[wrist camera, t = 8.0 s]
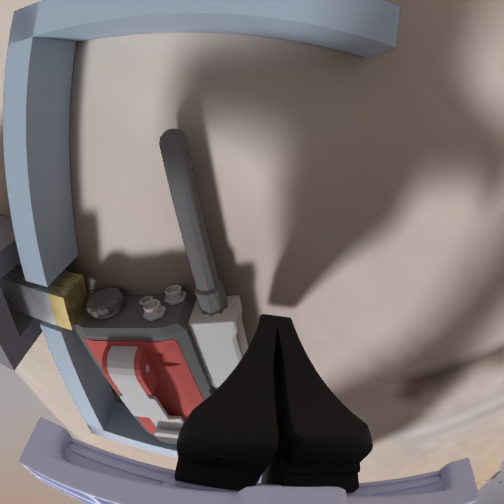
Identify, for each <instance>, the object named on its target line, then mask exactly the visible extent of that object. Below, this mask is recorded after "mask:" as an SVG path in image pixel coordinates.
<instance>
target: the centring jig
mask: <svg viewBox="0 0 504 504" xmlns="http://www.w3.org/2000/svg"><path fill="white" fill-rule="evenodd" d="M399 17H400V6H399V5H397V4H394V3H391V2H388V1H386V0H42V1H39V2H37V3H34V4H31V5H29V6H26V7H24V8H21V9H19V10H17V11H14V15H13V20H12V25H11V31H10V37H9V43H8V50H7V58H6V67H5V78H4V93H3V147H4V163H5V174H6V184H7V192H8V200H9V206H10V213H11V217H7V216H1V215H0V279H1V278H2V277H3V276H4V275H6V274H7V273H8V272H9V271H10V270H11V269H12V268H13V267H14V266H15V265H17V264H18V263H19V262H20V261H21V265H22V269H23V273H24V276H25V280H26V281H29V282H32V283H35V284H39V285H42V286H45V287H48V286H49V285H50V284H51V283H52V282H53V281H54V280H55V279H56V278H57V277H58V275H59V274H60V273H61V272H62V271H63V270H64V269H65V268H66V267H67V266H68V265H69V264H70V263H71V262H72V261H73V260H74V259H75V258H76V257H77V256H78V248H77V241H76V234H75V225H74V216H73V206H72V194H71V178H70V149H69V128H70V100H71V85H72V73H73V64H74V55H75V47H76V42H78V41H84V40H90V39H96V38H103V37H111V36H120V35H130V34H142V33H160V32H212V33H230V34H243V35H253V36H262V37H270V38H277V39H284V40H290V41H296V42H302V43H307V44H312V45H317V46H322V47H326V48H331V49H335V50H339V51H343V52H347V53H351V54H355V55H358V56H362V57H365V58H369V57H371V56H374V55H377V54H379V53H382V52H385V51H387V50H390V49H393V48H396V44H397V36H398V27H399ZM42 332H43V334H44V337H45V339H46V342H47V344H48V347H49V349H50V352H51V354H52V356H53V359H54V361H55V363H56V366H57V368H58V370H59V372H60V374H61V376H62V379H63V381H64V383H65V385H66V387H67V389H68V391H69V393H70V395H71V397H72V399H73V401H74V402H75V404H76V406H77V408H78V410H79V412H80V414H81V415H82V417H83V419H84V421H85V422H86V424H87V426H88V428H89V429H90V431H91V433H94V434H96V435H99V436H102V437H105V438H108V439H111V440H114V441H117V442H120V443H123V444H126V445H129V446H133V447H136V448H140V449H143V450H147V451H151V452H154V453H158V454H162V455H166V456H171V457H175V458H178V454H177V448H176V445H177V444H168V443H162V442H160V441H158V440H157V439H156V438H154V437H153V436H151V435H150V434H148V433H147V432H146V430H144V429H143V427H142V426H141V425H140V423H139V422H138V421H137V419H136V418H135V417H134V416H133V414H132V413H131V412H130V410H129V409H128V408H127V406H126V405H125V404H124V403H121V402H117V401H116V400H115V397H114V395H113V392H112V389H111V386H110V384H109V382H108V381H107V380H106V378H105V377H104V375H103V374H102V372H101V371H100V369H99V368H98V366H97V365H96V363H95V361H94V360H93V358H92V357H91V355H90V354H89V352H88V350H87V349H86V347H85V345H84V344H83V342H82V340H81V339H80V337H79V335H78V334H77V332H76V330H75V327H74V329H73V330H69V329H66V328H63V327H60V326H57V325H54V324H51V323H48V322H45V321H42V320H40V319H37V318H34V317H31V316H29V315H26V314H23V313H21V312H18V311H16V310H13V309H11V308H8V306H7V303H6V300H5V297H4V294H3V292H2V289H1V286H0V363H1V364H3V365H5V366H7V367H8V368H10V369H12V370H15V369H16V367H17V366H18V364H19V363H20V361H21V360H22V359H23V357H24V356H25V354H26V353H27V352H28V350H29V349H30V347H31V346H32V345H33V343H34V342H35V341H36V339H37V338H38V337H39V335H40V334H41V333H42Z"/></svg>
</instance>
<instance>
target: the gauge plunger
mask: <svg viewBox="0 0 504 504" xmlns="http://www.w3.org/2000/svg"><path fill="white" fill-rule="evenodd" d="M0 286H1V289H2V292H3V294H4V297H5V300H6V303H7V306H8V308H11V309H13V310H16V311H18V312H21V313H23V314H26V315H29V316H31V317H34V318H37V319H40V320H42V321H45V322H48V323H51V324H54V325H57V326H60V327H63V328H66V329H69V330H73V329H74V327H75V326H76V325H77V323H78V322H79V320H80V319H81V318H82V316H83V315H84V313H85V312H86V311H87V310H86V302H87V301H88V296H87V291H86V286H85V280H84V275H83V274H78V273H74V272H70V271H65V270H63V271H62V272H61V273H60V274H59V275H58V277H57V278H56V279H55V280H54V281H53V282H52V283H51V284H50V285H49V286H48V287H45V286H42V285H39V284H35V283H32V282H29V281H26V280H25V276H24V273H23V269H22V265H21V261H20V262H19V263H18V264H17V265H15V266H14V267H13V268H12V269H11V270H10V271H9V272H8V273H7V274H6V275H4V276H3V277H2V278H1V279H0Z"/></svg>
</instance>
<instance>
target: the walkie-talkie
mask: <svg viewBox="0 0 504 504" xmlns="http://www.w3.org/2000/svg"><path fill="white" fill-rule="evenodd" d="M159 144H160V149H161V153H162V158H163V162H164V167H165V171H166V175H167V179H168V183H169V188H170V192H171V196H172V200H173V204H174V208H175V212H176V215H177V219H178V223H179V227H180V231H181V234H182V238H183V242H184V245H185V249H186V253H187V256H188V260H189V263H190V267H191V270H192V274H193V277H194V281H195V284H196V287H195V289H194V291H195V294H196V297H197V298H196V297H195V296H194V295H192V294H191V293H190V292H185V291H182V288H181V286H180V285H177V284H175V285H171V286H169V287H167V288H166V291H167V292H166V291H165V293H163V294H147V295H130V296H123V293H122V291H121V290H120V289H118V288H114V287H108V288H104V289H102V290H99V291H97V292H95V293H94V294H93V295H92V296H91V297H89V299H88V301H87V302H86V310H87V311H86V312H85V313H84V315H83V316H82V318H81V319H80V320H79V322H78V323H77V325H76V326H75V330H76V332H77V334H78V335H79V337H80V339H81V340H82V342H83V344H84V345H85V347H86V349H87V350H88V352H89V354H90V355H91V357H92V358H93V360H94V361H95V363H96V365H97V366H98V368H99V369H100V371H101V372H102V374H103V375H104V377H105V378H106V380H107V381H108V382H109V384H111V386H112V388H113V389H114V390H115V391H116V394H117V395H118V396H119V397H120V399H121V400H122V401H123V403H124V404H125V405H126V406H127V408H128V409H129V410H130V412H131V413H132V414H133V416H134V417H135V418H136V419H137V421H138V422H139V423H140V425H141V426H142V427H143V429H144V430H146V432H147V433H148V434H150V435H151V436H153V437H154V438H156V439H157V440H158V441H160V442H162V443H168V444H177V440H178V435H179V432H180V430H181V428H182V426H183V424H184V422H185V421H186V419H187V418H188V416H189V415H190V413H191V412H192V410H193V409H194V408H196V407H197V406H198V405H199V404H201V403H202V402H203V401H204V400H206V399H207V398H208V397H209V396H210V395H211V394H212V393H213V392H214V391H215V390H216V389H217V388H218V387H219V386H220V385H221V384H222V383H223V382H224V381H225V380H226V379H227V377H228V376H229V375H230V374H231V373H232V371H233V370H234V369H235V367H236V366H237V365H238V363H239V362H240V360H241V359H242V357H243V356H244V354H245V352H246V351H247V349H248V343H247V339H246V334H245V330H244V326H243V321H242V317H241V316H242V309H243V308H242V304H241V300H240V296H239V295H231V296H226V293H225V289H224V285H223V282H222V281H221V280H219V277H218V273H217V269H216V265H215V261H214V257H213V253H212V249H211V245H210V241H209V237H208V233H207V228H206V224H205V220H204V216H203V211H202V207H201V203H200V198H199V194H198V190H197V185H196V181H195V176H194V171H193V167H192V162H191V158H190V153H189V148H188V143H187V139H186V136H185V134H184V133H183V132H182V131H181V130H179V129H169V130H167V131H165V132H164V133H163V135H162V136H161V137H160V142H159Z"/></svg>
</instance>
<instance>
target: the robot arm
mask: <svg viewBox="0 0 504 504" xmlns="http://www.w3.org/2000/svg"><path fill="white" fill-rule="evenodd" d="M176 448H177V454H178V462H177V467H176V471H175V470H170V469H166V468H162V467H158V466H154V465H150V464H147V463H143V462H139V461H136V460H133V459H129V458H126V457H123V456H120V455H117V454H114V453H111V452H108V451H105V450H102V449H99V448H97V447H94V446H91V445H89V444H86V443H84V442H81V441H79V440H76V439H74V438H72V437H71V435H70V433H69V432H68V431H67V430H66V429H64V428H63V427H61V426H59V425H57V424H55V423H53V422H50V421H48V420H46V419H44V418H40V419H39V421H38V423H37V424H36V426H35V428H34V430H33V432H32V434H31V436H30V438H29V440H28V443H27V444H26V446H25V448H24V450H23V453H22V455H21V457H20V459H19V462H20V463H21V464H22V465H23V466H24V467H25V468H27V469H28V470H29V471H30V472H31V473H33V474H34V475H35V476H36V477H37V478H39V479H40V480H41V481H42V482H44V483H46V484H48V485H49V486H51V487H53V488H55V489H57V490H60V491H61V492H63V493H65V494H67V495H69V496H71V497H74V498H76V499H78V500H80V501H82V502H84V503H87V504H471V503H473V502H475V501H476V500H478V499H479V495H478V490H477V486H476V482H475V478H474V475H473V471H472V468H471V464H470V461H469V458H465V459H462V460H458V461H454V462H451V463H449V464H447V465H445V466H444V467H443V468H441V469H440V471H435V472H431V473H426V474H421V475H416V476H411V477H405V478H399V479H392V480H385V481H377V482H367V483H359V481H358V472H360V462H361V461H362V460H363V459H364V458H365V457H366V456H367V455H368V454H369V453H370V452H371V450H372V448H373V444H372V439H371V435H370V432H369V429H368V426H367V424H366V423H364V422H363V421H362V420H361V419H359V418H358V417H357V416H356V415H354V414H353V413H352V412H351V411H350V410H349V409H348V408H347V407H345V406H344V405H343V404H342V403H341V401H340V400H339V399H338V398H337V397H336V396H335V395H334V394H333V393H332V392H331V390H330V389H329V388H328V387H327V385H326V384H325V383H324V381H323V380H322V379H321V377H320V376H319V374H318V373H317V371H316V370H315V368H314V366H313V365H312V363H311V361H310V360H309V358H308V356H307V354H306V352H305V350H304V348H303V346H302V344H301V342H300V340H299V337H298V335H297V333H296V330H295V328H294V325H293V322H292V320H291V318H288V317H281V316H273V315H266V314H262V315H261V316H260V319H259V324H258V328H257V331H256V333H255V335H254V337H253V339H252V342H251V344H250V346H249V347H248V349H247V351H246V352H245V354H244V356H243V357H242V359H241V360H240V362H239V363H238V365H237V366H236V367H235V369H234V370H233V371H232V373H231V374H230V375H229V376H228V377H227V379H226V380H225V381H224V382H223V383H222V384H221V385H220V386H219V387H218V388H217V389H216V390H215V391H214V392H213V393H212V394H211V395H210V396H209V397H208V398H207V399H206V400H204V401H203V402H202V403H201V404H199V405H198V406H197V407H196V408H194V409H193V410H192V412H191V413H190V415H189V416H188V418H187V419H186V421H185V422H184V424H183V426H182V428H181V430H180V432H179V435H178V440H177V445H176Z"/></svg>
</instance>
